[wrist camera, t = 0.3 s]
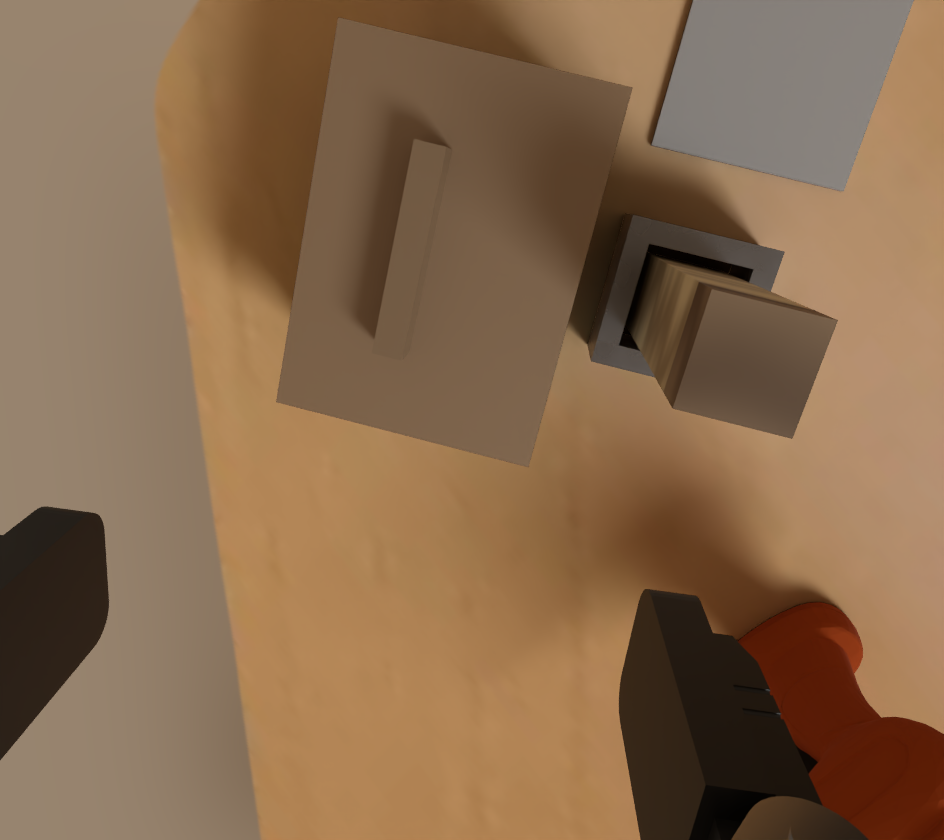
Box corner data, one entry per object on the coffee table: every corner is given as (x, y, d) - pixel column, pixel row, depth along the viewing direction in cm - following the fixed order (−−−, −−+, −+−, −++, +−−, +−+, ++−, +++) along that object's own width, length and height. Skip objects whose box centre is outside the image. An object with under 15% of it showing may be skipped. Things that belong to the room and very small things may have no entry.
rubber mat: (713, -72, 32) (714, -74, 32) (919, -24, 32) (922, -26, 32) (651, 145, 35) (651, 145, 35) (841, 191, 35) (843, 191, 34)
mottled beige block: (646, 251, 36) (711, 289, 21) (718, 269, 36) (837, 320, 21) (624, 323, 38) (672, 408, 22) (695, 341, 37) (791, 438, 22)
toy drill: (554, 783, 44) (589, 1042, 29) (809, 576, 41) (990, 746, 26) (609, 837, 45) (671, 1116, 30) (864, 637, 42) (1071, 835, 27)
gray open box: (625, 213, 36) (633, 214, 32) (760, 246, 36) (784, 251, 32) (587, 344, 38) (591, 361, 34) (715, 377, 38) (733, 396, 34)
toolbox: (386, 57, 35) (325, 6, 26) (615, 112, 35) (637, 80, 26) (331, 362, 40) (262, 412, 30) (533, 413, 39) (527, 480, 30)
